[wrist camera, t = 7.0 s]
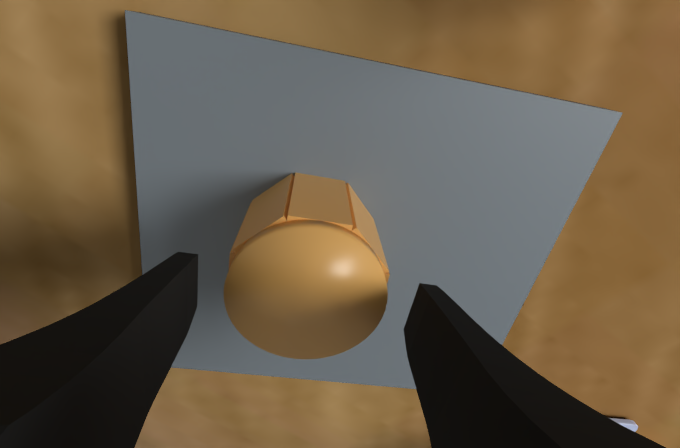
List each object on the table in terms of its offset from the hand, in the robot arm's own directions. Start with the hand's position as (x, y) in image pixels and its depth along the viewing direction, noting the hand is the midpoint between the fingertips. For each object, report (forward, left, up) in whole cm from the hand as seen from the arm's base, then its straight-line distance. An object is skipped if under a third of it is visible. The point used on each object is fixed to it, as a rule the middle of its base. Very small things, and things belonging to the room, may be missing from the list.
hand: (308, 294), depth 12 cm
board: (-2, +1, -5) cm, 6 cm away
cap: (0, 0, -4) cm, 4 cm away
